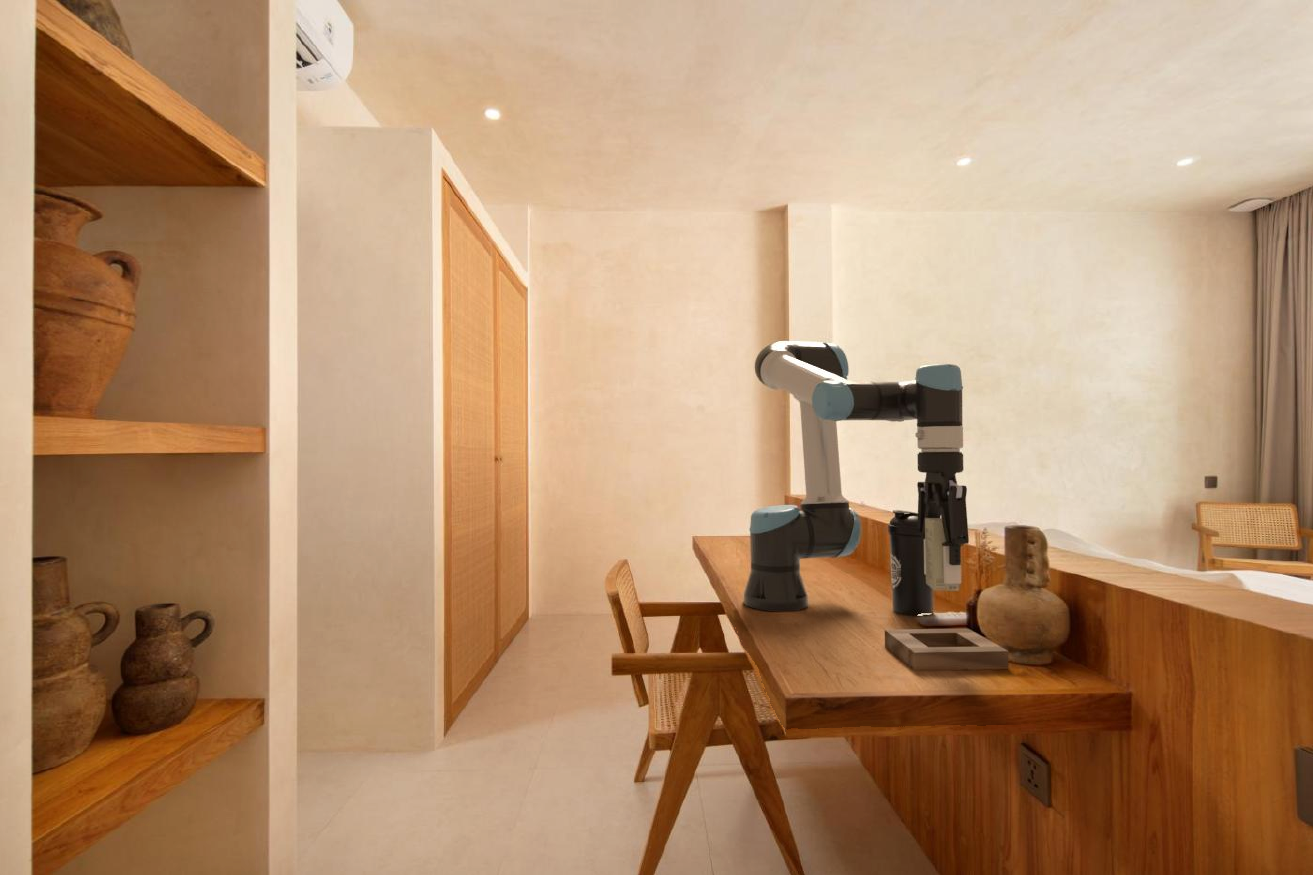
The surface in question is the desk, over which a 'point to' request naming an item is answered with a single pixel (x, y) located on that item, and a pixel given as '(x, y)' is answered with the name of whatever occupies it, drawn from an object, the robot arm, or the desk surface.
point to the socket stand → (945, 649)
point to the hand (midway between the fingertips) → (942, 578)
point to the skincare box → (935, 555)
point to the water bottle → (908, 566)
